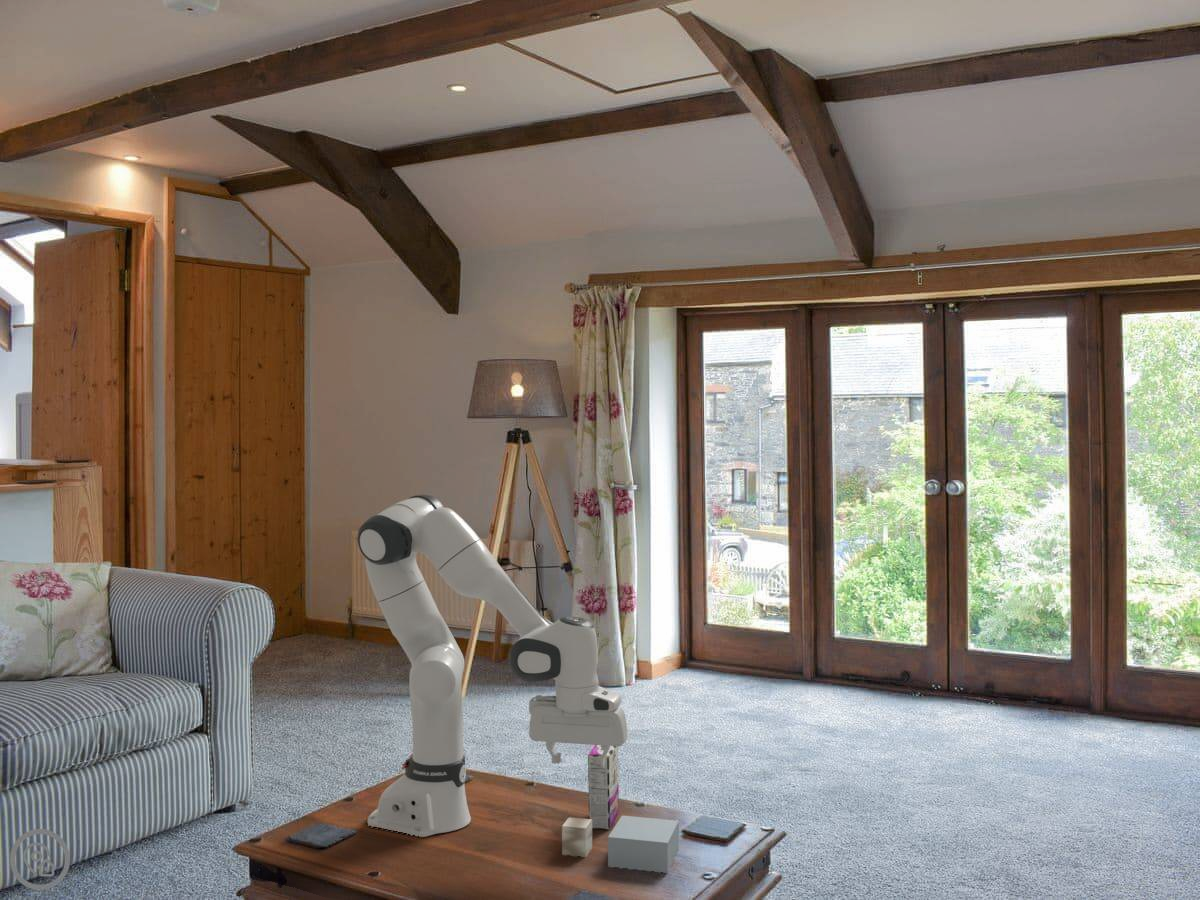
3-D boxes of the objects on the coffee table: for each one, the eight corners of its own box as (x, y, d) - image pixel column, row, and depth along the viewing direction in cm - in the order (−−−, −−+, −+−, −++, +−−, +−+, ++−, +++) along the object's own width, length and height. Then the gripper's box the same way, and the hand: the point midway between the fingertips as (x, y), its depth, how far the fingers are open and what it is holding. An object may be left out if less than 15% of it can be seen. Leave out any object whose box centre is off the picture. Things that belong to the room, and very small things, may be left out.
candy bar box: (597, 810, 246) (597, 738, 246) (619, 812, 245) (619, 740, 245) (587, 828, 235) (587, 753, 235) (609, 830, 234) (609, 755, 234)
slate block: (608, 866, 215) (608, 836, 215) (621, 843, 227) (622, 815, 227) (667, 873, 212) (667, 842, 212) (678, 849, 224) (678, 820, 224)
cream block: (562, 855, 221) (562, 825, 221) (568, 845, 226) (568, 817, 226) (585, 857, 220) (585, 828, 220) (592, 848, 225) (592, 819, 225)
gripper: (524, 698, 222) (525, 765, 222) (621, 703, 216) (622, 772, 217) (533, 690, 228) (534, 756, 228) (628, 695, 222) (629, 762, 223)
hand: (578, 764), depth 222 cm, fingers open, 8 cm apart
